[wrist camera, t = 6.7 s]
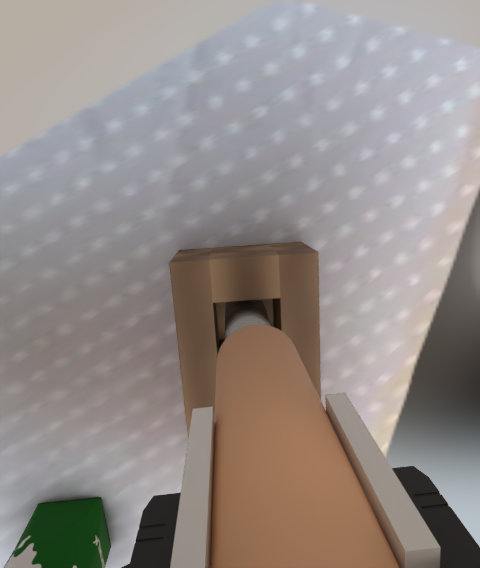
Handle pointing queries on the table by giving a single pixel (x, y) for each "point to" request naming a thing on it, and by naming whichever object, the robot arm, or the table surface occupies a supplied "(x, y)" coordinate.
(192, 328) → the hole block
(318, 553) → the peg
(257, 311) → the steel pin
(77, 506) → the milk carton
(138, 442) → the table surface
